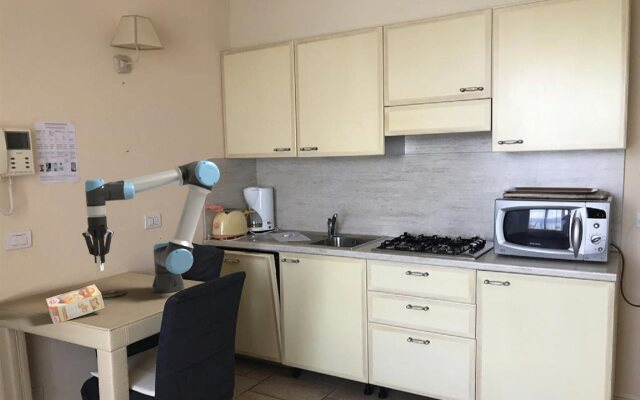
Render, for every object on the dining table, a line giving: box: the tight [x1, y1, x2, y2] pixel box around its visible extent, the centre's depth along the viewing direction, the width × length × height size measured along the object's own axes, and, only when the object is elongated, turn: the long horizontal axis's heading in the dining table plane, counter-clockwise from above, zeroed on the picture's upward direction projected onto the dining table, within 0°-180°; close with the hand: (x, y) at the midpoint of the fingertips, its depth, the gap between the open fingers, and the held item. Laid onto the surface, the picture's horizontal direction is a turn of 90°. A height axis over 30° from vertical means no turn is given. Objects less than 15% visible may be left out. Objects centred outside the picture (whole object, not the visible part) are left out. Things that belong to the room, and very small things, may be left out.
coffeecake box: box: [45, 284, 105, 324], centre depth 214 cm, size 15×7×20 cm
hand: (100, 270), depth 221 cm, fingers closed
